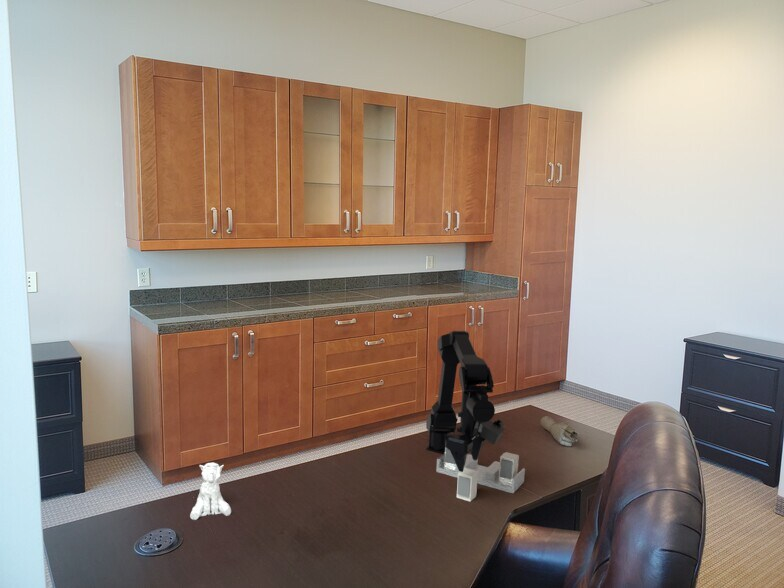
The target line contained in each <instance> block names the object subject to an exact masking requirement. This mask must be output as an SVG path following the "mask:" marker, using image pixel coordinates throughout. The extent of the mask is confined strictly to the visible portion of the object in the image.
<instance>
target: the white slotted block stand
mask: <svg viewBox="0 0 784 588" xmlns="http://www.w3.org/2000/svg"><path fill="white" fill-rule="evenodd" d="M499 459H500V460H499V461H497V460H496V461H495V460H494V461H493V462H492V463H491V464H490V465H488V466H484V465H481V464H479V463H478V462H479V458H478V459H477V460H473V458H472V454H470V453H468V454H467V457H466V462H465V466H464V468H467V469H471V470H475V471H478V478H477V485H478V484H479V485H481V486H486V487H489V488H492V489H496V490H499V491H503V492H506V493H510V494H514V493H515V492H516V491H517V490H518V489H519V488H520V487H522V485H523V484H524V483H525V474H526V473H525V472H526V468H524V467H523V468H522V469H521V470H520V471H519V470H518V469H519V459H520V455H519V454H515V453H510V452H508V451H506V452H503V453H502V454H501V455H500V457H499ZM435 470H436V473H439V474H444V475H447V476H450V477H452V478H457V479H458V472H460V471H459V470H458V467H457V465H456V463H455V460H454V458H453V456H452V454H451V452H450V450H448V448H446V447H445V453H444V454H443V453H442V454H441V455H440V456H439V457H437V458H436V469H435ZM518 471H519V472H518Z"/></svg>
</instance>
